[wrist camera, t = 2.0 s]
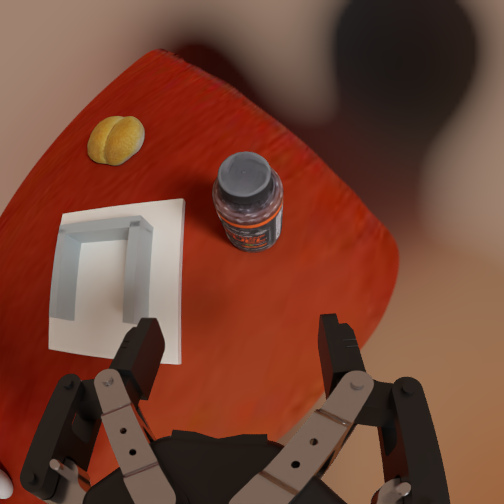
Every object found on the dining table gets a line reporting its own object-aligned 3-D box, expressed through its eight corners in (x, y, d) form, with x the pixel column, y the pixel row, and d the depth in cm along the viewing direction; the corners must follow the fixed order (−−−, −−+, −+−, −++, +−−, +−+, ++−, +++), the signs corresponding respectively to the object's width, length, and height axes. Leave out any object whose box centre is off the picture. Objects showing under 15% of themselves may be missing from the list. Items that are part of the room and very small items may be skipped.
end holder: (181, 363, 28) (165, 366, 24) (53, 349, 30) (30, 347, 25) (185, 202, 34) (173, 183, 29) (66, 216, 35) (47, 203, 31)
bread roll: (131, 171, 36) (118, 155, 32) (86, 164, 38) (73, 149, 34) (157, 124, 38) (148, 106, 34) (112, 121, 40) (101, 105, 36)
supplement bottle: (224, 253, 31) (197, 208, 21) (229, 203, 33) (208, 141, 22) (281, 255, 31) (283, 209, 20) (282, 203, 32) (283, 140, 22)
